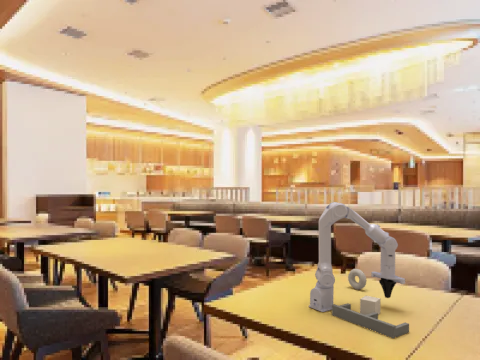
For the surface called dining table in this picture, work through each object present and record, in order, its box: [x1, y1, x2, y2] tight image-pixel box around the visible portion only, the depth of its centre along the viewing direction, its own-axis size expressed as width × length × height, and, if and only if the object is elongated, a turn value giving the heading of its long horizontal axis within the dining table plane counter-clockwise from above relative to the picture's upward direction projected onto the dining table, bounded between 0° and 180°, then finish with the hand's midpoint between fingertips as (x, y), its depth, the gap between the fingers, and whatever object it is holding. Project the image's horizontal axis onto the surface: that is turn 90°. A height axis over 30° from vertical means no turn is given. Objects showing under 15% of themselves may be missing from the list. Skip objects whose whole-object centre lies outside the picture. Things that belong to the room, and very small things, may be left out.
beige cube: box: [359, 295, 381, 316], centre depth 150 cm, size 6×6×6 cm
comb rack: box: [331, 302, 410, 339], centre depth 140 cm, size 10×26×4 cm, turn 35°
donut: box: [347, 268, 367, 291], centre depth 185 cm, size 10×4×10 cm, turn 36°
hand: (387, 297), depth 157 cm, fingers closed
